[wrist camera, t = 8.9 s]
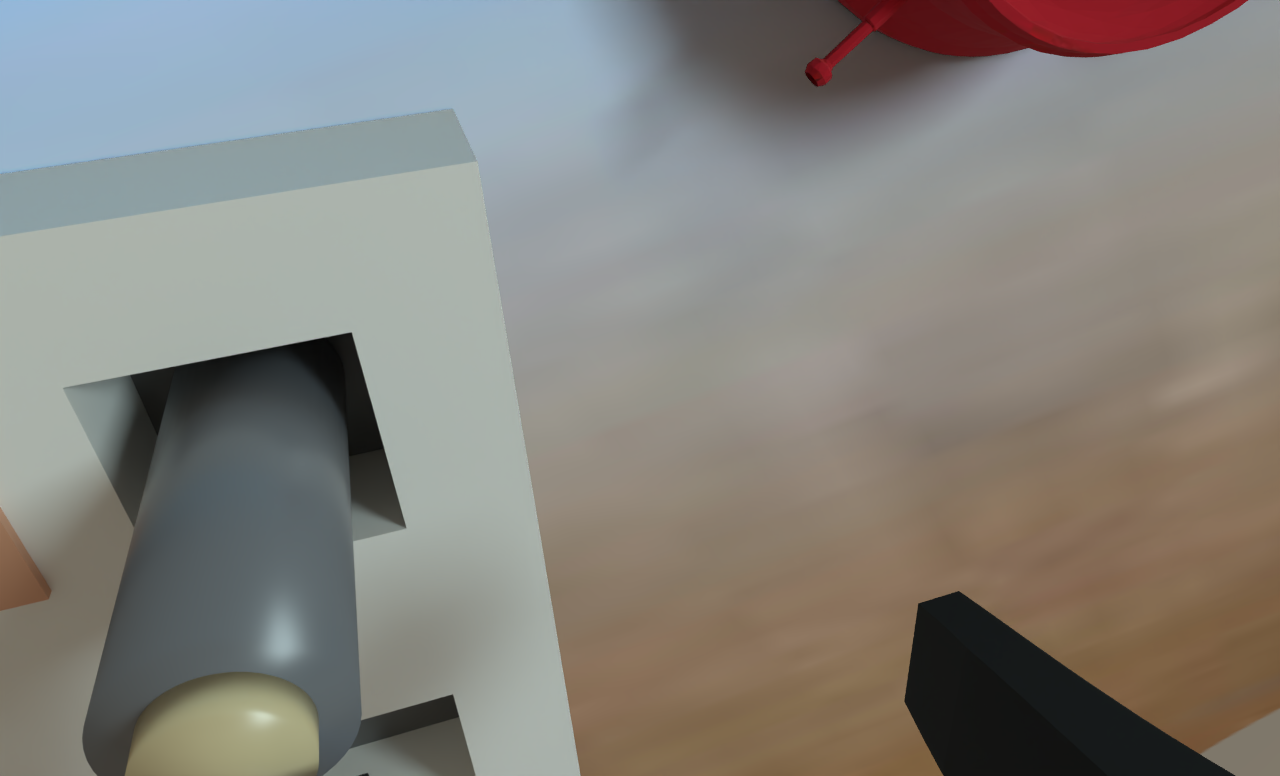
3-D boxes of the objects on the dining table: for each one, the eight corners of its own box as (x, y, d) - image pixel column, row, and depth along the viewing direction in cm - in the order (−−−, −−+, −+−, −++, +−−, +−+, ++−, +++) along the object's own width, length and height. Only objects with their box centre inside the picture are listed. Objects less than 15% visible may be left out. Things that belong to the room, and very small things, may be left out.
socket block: (563, 733, 26) (591, 835, 23) (116, 868, 23) (91, 1000, 20) (452, 109, 16) (479, 164, 13) (-357, 225, 13) (-525, 324, 10)
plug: (362, 426, 18) (390, 805, 11) (208, 462, 17) (137, 886, 11) (320, 297, 16) (323, 650, 9) (147, 332, 16) (16, 736, 9)
